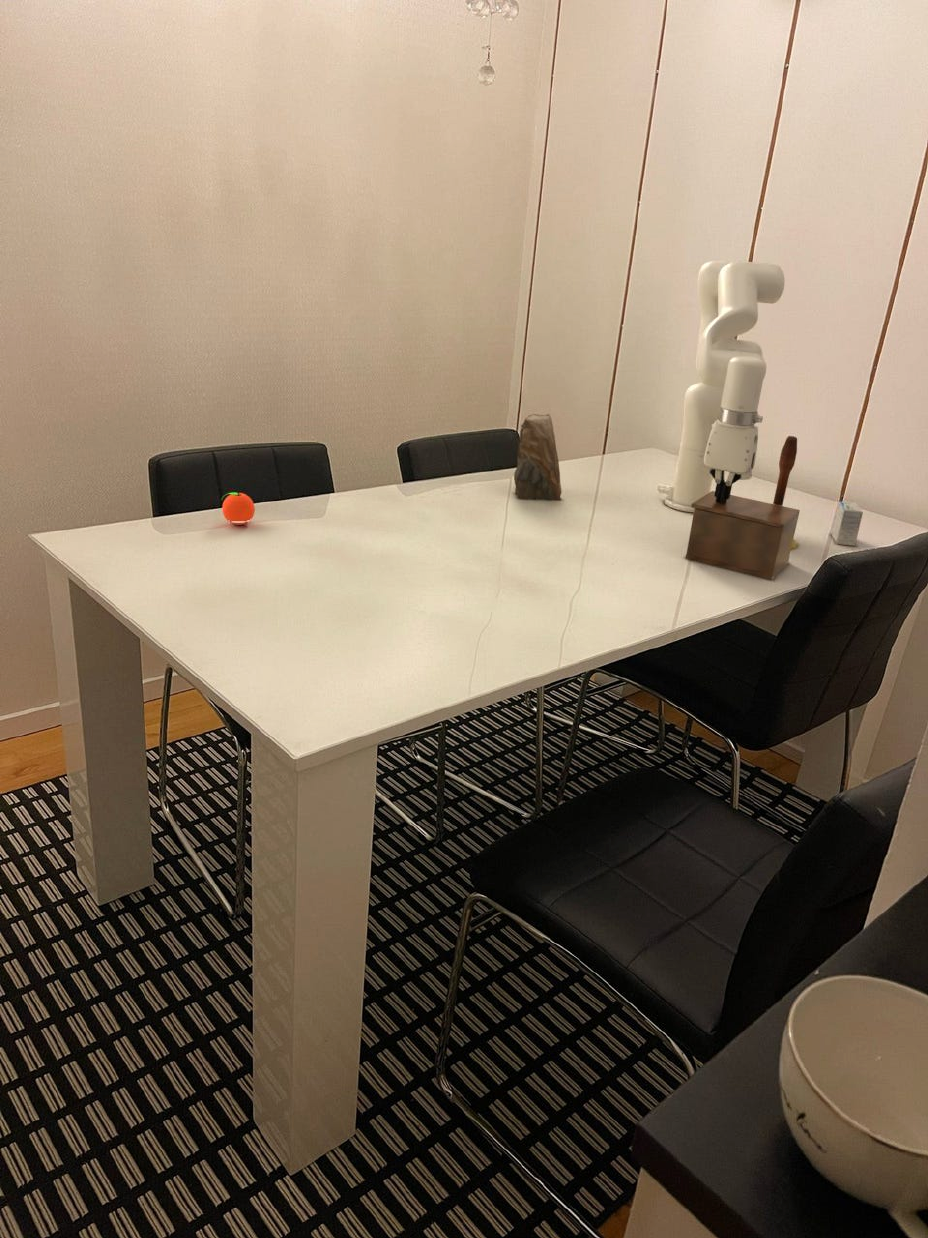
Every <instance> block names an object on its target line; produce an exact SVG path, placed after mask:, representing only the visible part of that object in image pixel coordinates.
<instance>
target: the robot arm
mask: <svg viewBox="0 0 928 1238" xmlns="http://www.w3.org/2000/svg"><path fill="white" fill-rule="evenodd" d="M784 290H785V274H784V270H783V269H782V267H781V266H780V265H779V264H775V263H767V262H766V263H765V262H754V261H745V260H744V261H742V260H741V261H736V260H735V261H733V260H711V261H707V262H705V263H704V264H702V266H701V267H700V269H699V271H698V275H697V282H696V294H697V301H698V307H699V312H700V326H699V332H698V339H697V347H696V355H695V370H696V372H697V378H698V379H699V381H700V382H699V383H694V384H692V385H690V386H688V388H687V389H686V392H685V394H684V399H683V424H682V433H681V438H680V445H679V451H678V457H677V463H676V468H675V475H674V480H673V484H671V485H667V484H663V483H658V486H657V491H658V493H660V494H665V495H667V496H666V497H665V498H664V504H665V505H666V506H667V507H669V508H670V509H675V510H677V511H681V512H688V513H694V509H695V508H693V507H691V505H692V503H694V502H695V501H697V500H699V499H700V498H702V497H703V496H705V495H706V494H708V493H710V492H711V491H712V485H713V480H714V483H715V484H716V485H715V490H714V491H715V495H714V496H715V497H716V502H720V503H724V502H725V501H727V499H729V498H730V495H731V492H732V488H733V484H735V483H736V482H737V481H745V480H748V481H749V480H751V478H752V477H753V470H754V467H755V464H756V458H757V450H758V442H759V441H758V440H759V427H758V425H755V424H758V423H759V424H760V423H761V424H762V423H763V419H764V417H763V416H762V415H759V411H758V408H759V405H760V404H759V403H760V400H761V399H760V398H761V393H762V390H763V389H762V387H763V383H764V379H765V377H766V373H767V362H766V361H765V359H764V357H763V350H762V346H761V345H760V344H758V343H757V342H755V341H751V340H743V339H736V337H737V336H741V335H744V334H746V333H748V332H749V331H750V330H751V329H752V330H753V328H754V327H755V326H756V324H757V323H758V319H759V310H758V309H759V308H758V307H759V305H758V303H761V304H772V305H773V304H775V303H778V302H779V300H780V299H781V297H782V295H783V292H784ZM726 472H728V475H727V478H726V481H725V473H726Z"/></svg>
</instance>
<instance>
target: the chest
mask: <svg viewBox="0 0 928 1238" xmlns="http://www.w3.org/2000/svg"><path fill="white" fill-rule="evenodd" d="M799 516H800V513H799V514H798V515H797V516H796V517H795V518H793V519H792V520H791V521H790V522H789V523H788V524H787V525H786V526H785V527H784V528H780V527H776V526H772V525H767V524H763V523H758V522H754V521H750V520H745V519H741V518H737V517H732V516H728V515H723V514H719V513H715V512H710V511H706V510H702V509H697V508H695V509H694V512H693V515H692V521H691V527H690V533H689V537H688V543H687V549H686V555H685V559H686V560H688V561H689V560H690V561H694V562H697V563H701V564H706V565H709V566H713V567H718V568H721V569H725V570H730V571H733V572H737V573H741V574H745V575H750V576H754V577H757V578H762V579H766V580H770V581H772V580H773V579H774V578H775V577H776V576H777V575H779V573H780V572H781V571H782V570H783V569H784V568H785V567H786V566H787V565H788V563H789V561H790V556H791V552H792V549H791V547H792V543H793V539H794V538H795V533H796V530H797V526H798V525H797V524H798V520H799Z"/></svg>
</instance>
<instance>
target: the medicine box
mask: <svg viewBox="0 0 928 1238" xmlns="http://www.w3.org/2000/svg"><path fill="white" fill-rule="evenodd" d="M836 508H837V509H836V512H835V516H834V521H833V524H832V529H831V536H832V538H833V540H834V542H835V543H836V545H841V546H849V547H854V546H856V544H857V540H858V535H859V530H860V527H861V523H862V518H863V514H864V513H863V512H864V511H863V510H862V509H861V507H860V506H859V504H858V503H857V502H850V501H839V502H838V504H837V507H836Z"/></svg>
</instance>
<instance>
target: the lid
mask: <svg viewBox="0 0 928 1238" xmlns="http://www.w3.org/2000/svg"><path fill="white" fill-rule="evenodd" d="M714 495H715V490H711V491H710V493H708V494H706V495H705V496H703V497H702V498H700V499H699V500H697V501H695V502H694V503H692V505H691V507H693V508H697V509H702V510H706V511H710V512H715V513H719V514H723V515H728V516H732V517H737V518H741V519H745V520H750V521H754V522H758V523H763V524H767V525H772V526H776V527H780V528H784V527H785V526H786V525H787V524H788V523H789V522H790V521H791V520H792V519H793V518H795V517H796V516H797V515H798V514H799V515H800V511H801V510H800V509H799V508H797V509H796V508H793V507H788V506H784V505H783V506H779V505H775V504H773V503H769V502H765V501H760V500H756V499H752V498H746V497H742V496H738V495H732V494H730V498H729V499H727V501H725V502H724V503H720V502H716V497H715V496H714Z"/></svg>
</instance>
